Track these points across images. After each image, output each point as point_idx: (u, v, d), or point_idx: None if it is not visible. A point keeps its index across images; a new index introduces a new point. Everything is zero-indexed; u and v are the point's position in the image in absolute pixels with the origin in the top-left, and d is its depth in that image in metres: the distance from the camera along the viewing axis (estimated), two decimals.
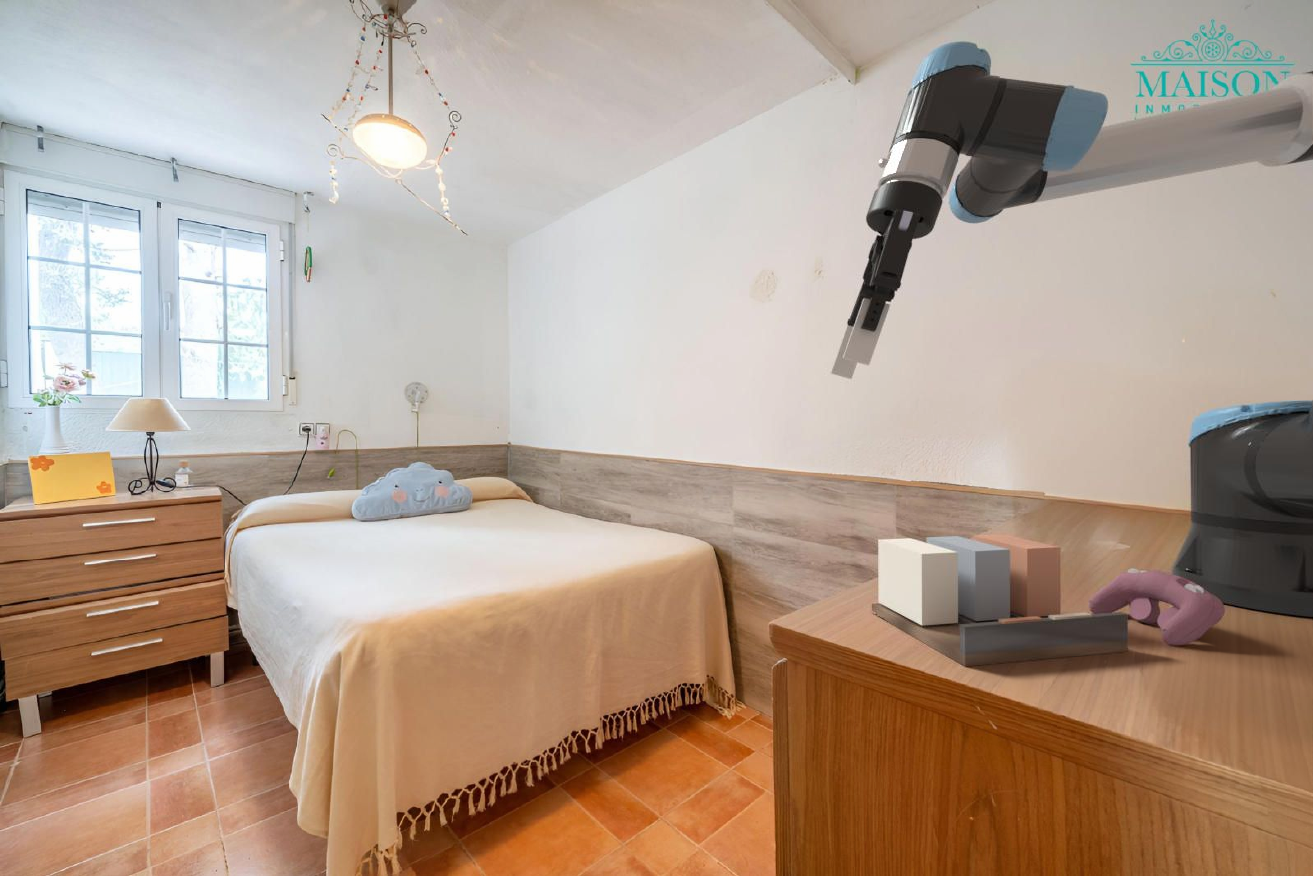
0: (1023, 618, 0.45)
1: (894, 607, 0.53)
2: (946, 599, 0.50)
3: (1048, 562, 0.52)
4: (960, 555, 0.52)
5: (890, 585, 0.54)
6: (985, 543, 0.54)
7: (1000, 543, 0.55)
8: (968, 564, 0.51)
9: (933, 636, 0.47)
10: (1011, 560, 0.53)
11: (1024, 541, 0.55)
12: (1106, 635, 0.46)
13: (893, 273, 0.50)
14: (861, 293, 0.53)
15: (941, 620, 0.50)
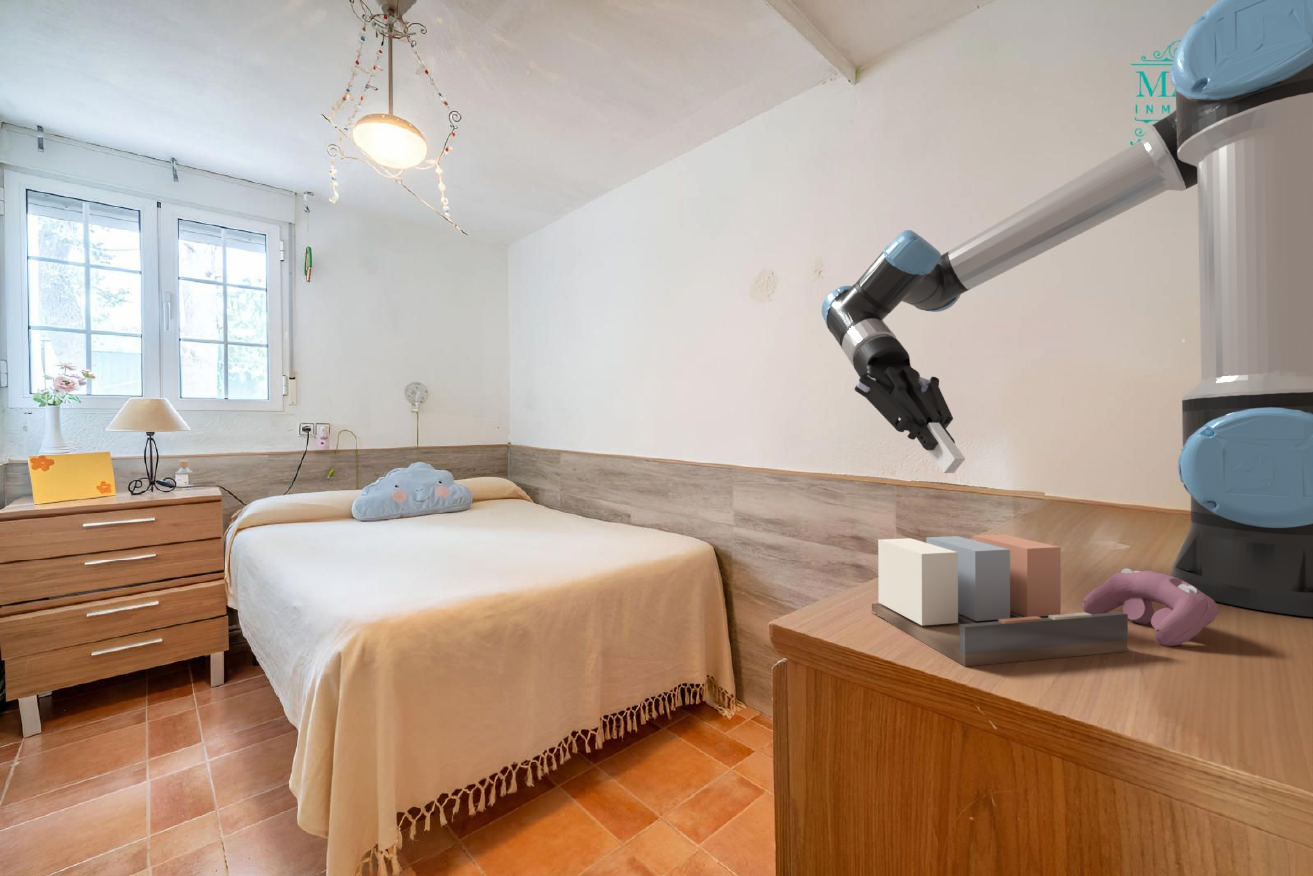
0: (1023, 618, 0.45)
1: (894, 607, 0.53)
2: (946, 599, 0.50)
3: (1048, 562, 0.52)
4: (960, 555, 0.52)
5: (890, 585, 0.54)
6: (985, 543, 0.54)
7: (1000, 543, 0.55)
8: (968, 564, 0.51)
9: (933, 636, 0.47)
10: (1011, 560, 0.53)
11: (1024, 541, 0.55)
12: (1106, 635, 0.46)
13: (898, 417, 0.69)
14: (914, 438, 0.69)
15: (941, 620, 0.50)
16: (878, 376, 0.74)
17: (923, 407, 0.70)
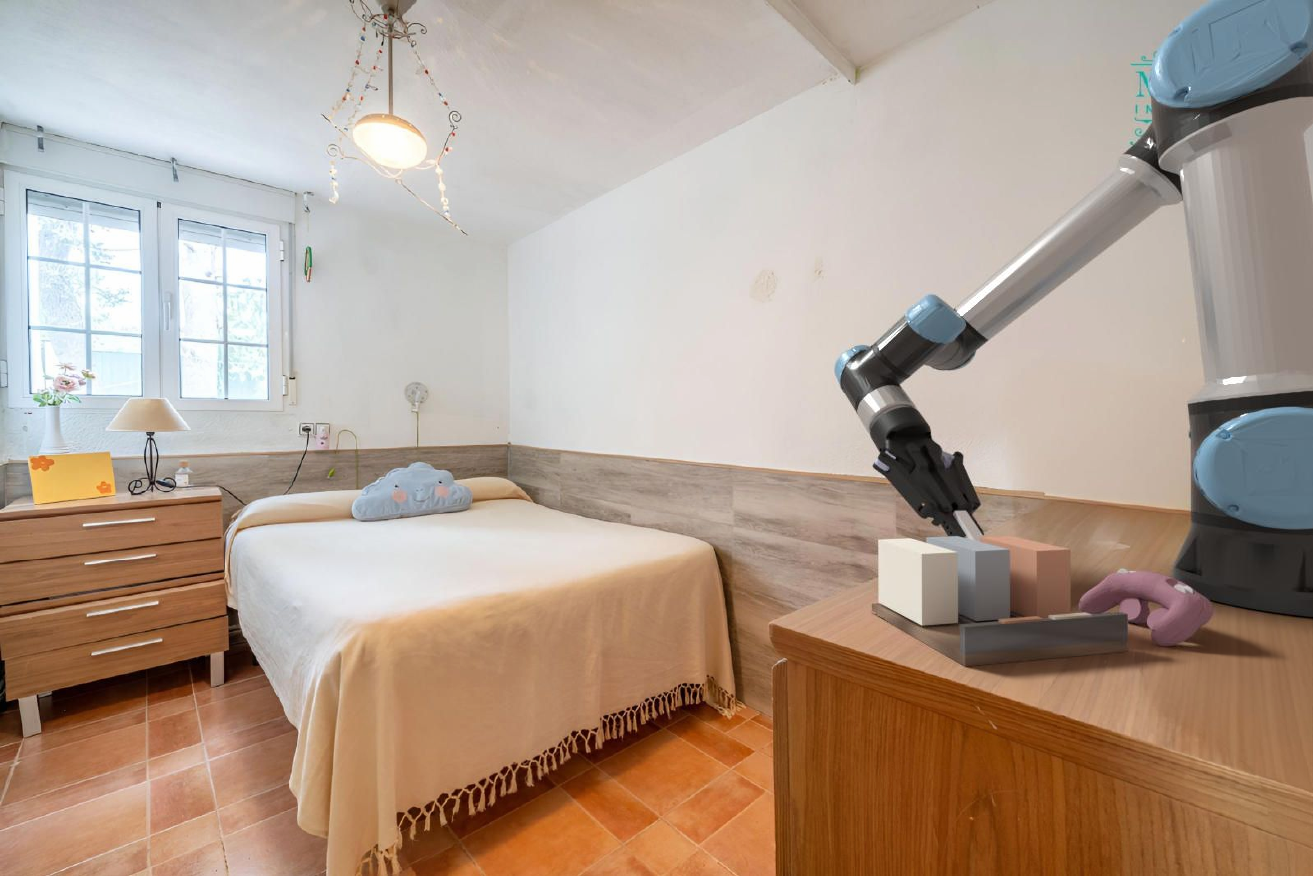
0: (1023, 618, 0.45)
1: (894, 607, 0.53)
2: (946, 599, 0.50)
3: (1058, 565, 0.51)
4: (960, 555, 0.52)
5: (890, 585, 0.54)
6: (985, 543, 0.54)
7: (1008, 545, 0.54)
8: (968, 564, 0.51)
9: (933, 636, 0.47)
10: (1020, 562, 0.52)
11: (1033, 543, 0.54)
12: (1106, 635, 0.46)
13: (921, 503, 0.64)
14: None
15: (941, 620, 0.50)
16: (898, 453, 0.69)
17: (948, 490, 0.65)
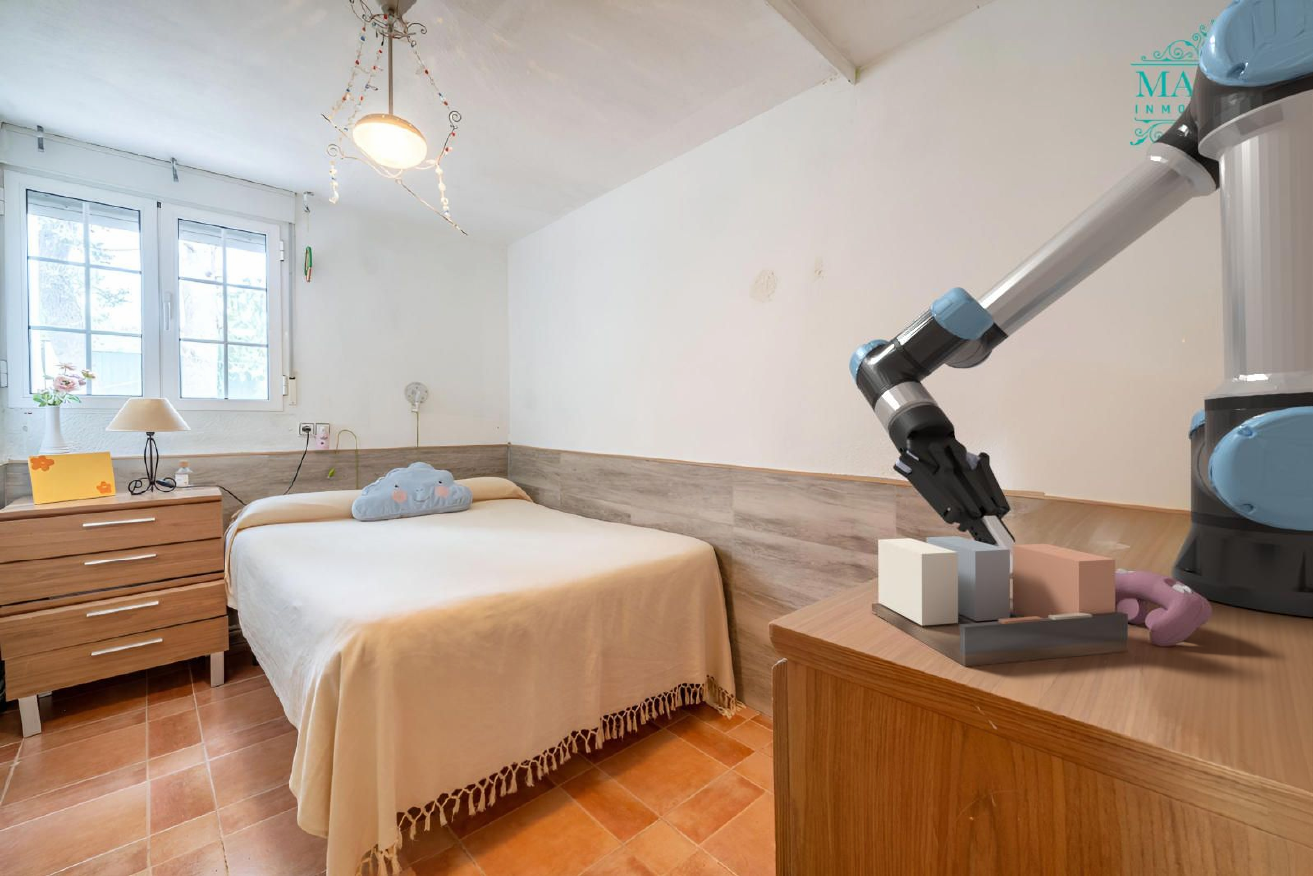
0: (1023, 618, 0.45)
1: (894, 607, 0.53)
2: (946, 599, 0.50)
3: (1102, 576, 0.47)
4: (960, 555, 0.52)
5: (890, 585, 0.54)
6: (985, 543, 0.54)
7: (1046, 554, 0.49)
8: (968, 564, 0.51)
9: (933, 636, 0.47)
10: (1059, 573, 0.48)
11: (1072, 552, 0.50)
12: (1106, 635, 0.46)
13: (947, 508, 0.60)
14: (965, 531, 0.60)
15: (941, 620, 0.50)
16: (920, 453, 0.65)
17: (975, 493, 0.61)
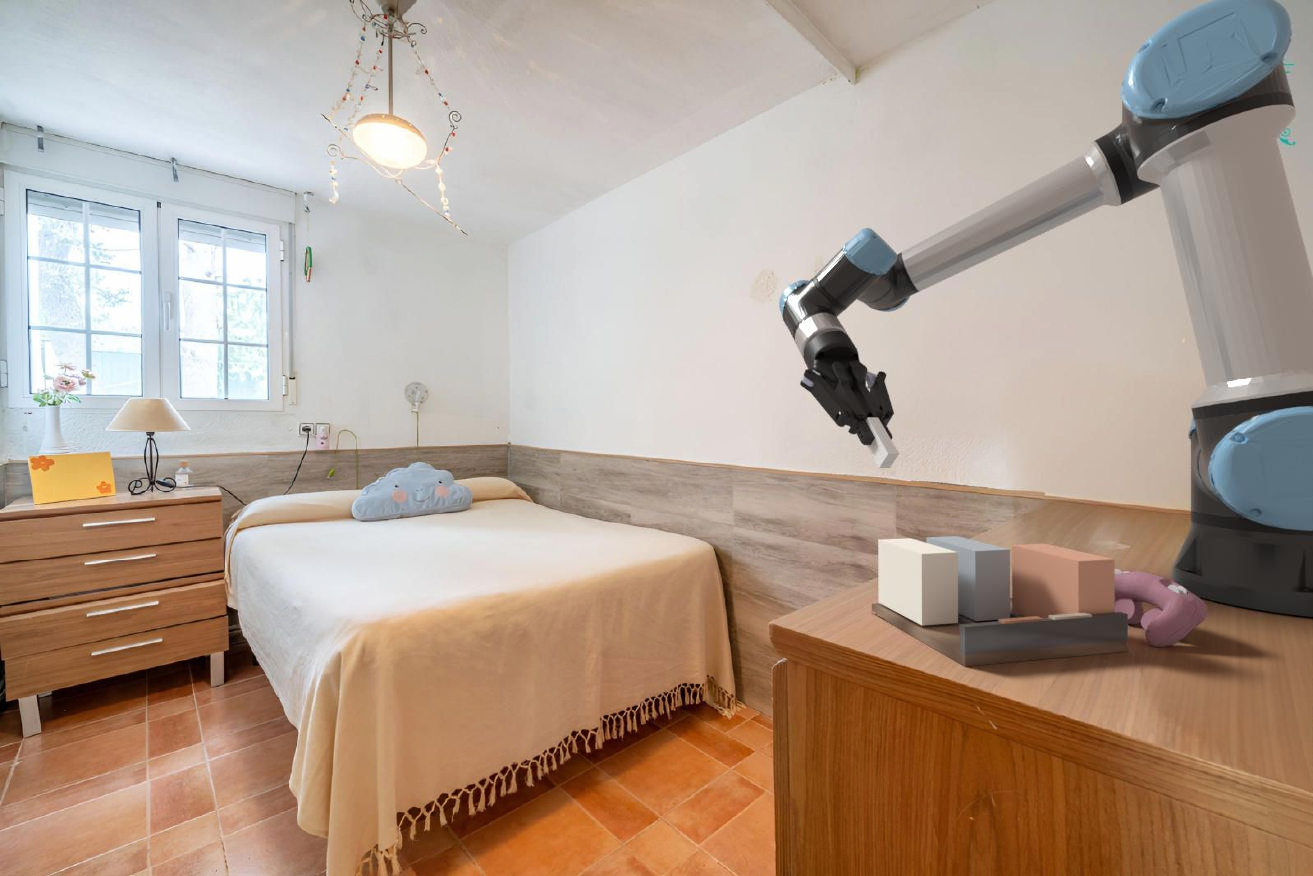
0: (1023, 618, 0.45)
1: (894, 607, 0.53)
2: (946, 599, 0.50)
3: (1101, 576, 0.47)
4: (960, 555, 0.52)
5: (890, 585, 0.54)
6: (985, 543, 0.54)
7: (1045, 554, 0.49)
8: (968, 564, 0.51)
9: (933, 636, 0.47)
10: (1059, 573, 0.48)
11: (1071, 552, 0.50)
12: (1106, 635, 0.46)
13: (838, 412, 0.68)
14: (855, 433, 0.69)
15: (941, 620, 0.50)
16: (823, 371, 0.73)
17: (865, 401, 0.70)
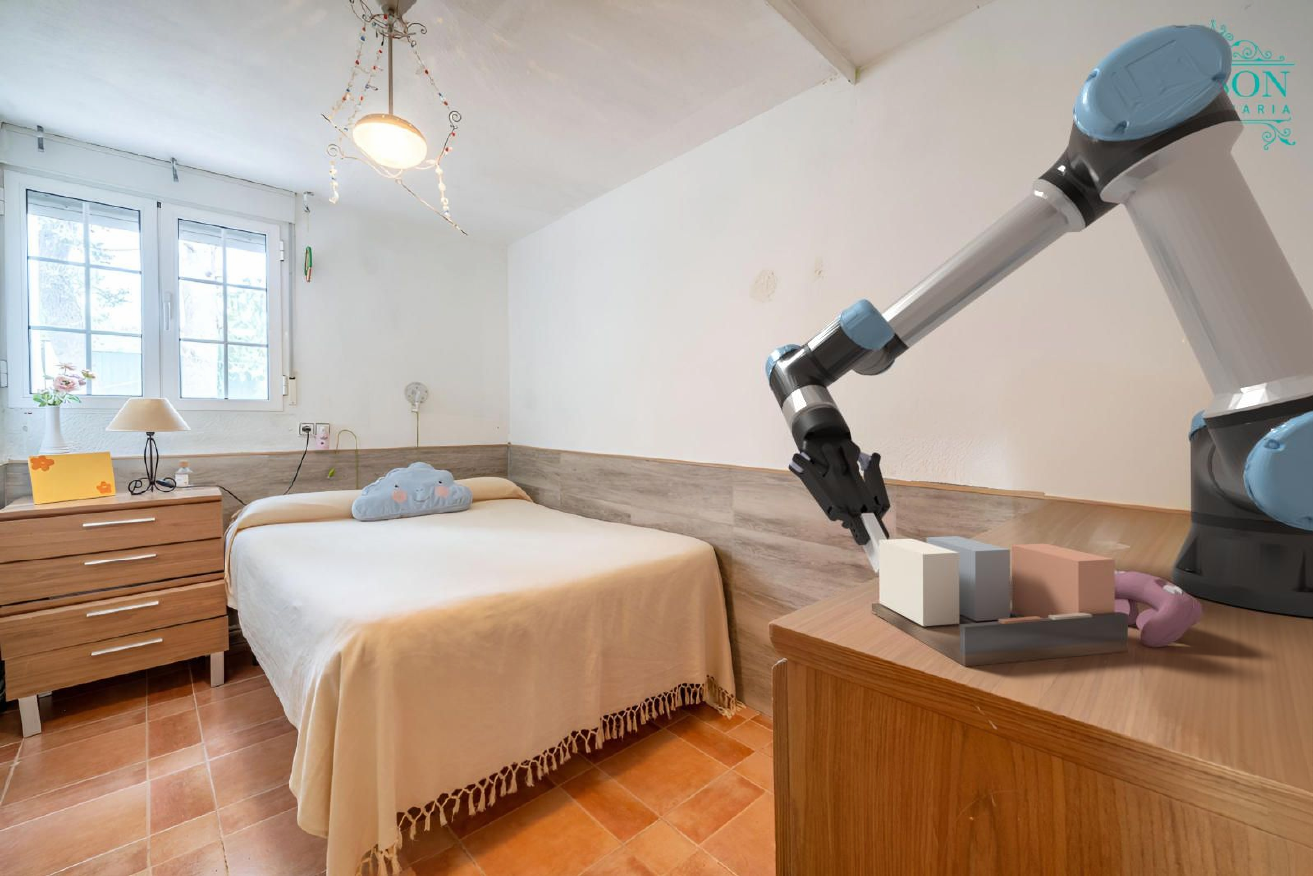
0: (1023, 618, 0.45)
1: (895, 608, 0.53)
2: (947, 600, 0.50)
3: (1101, 576, 0.47)
4: (960, 555, 0.52)
5: (891, 586, 0.54)
6: (985, 543, 0.54)
7: (1045, 554, 0.49)
8: (968, 564, 0.51)
9: (933, 636, 0.47)
10: (1059, 573, 0.48)
11: (1071, 552, 0.50)
12: (1106, 635, 0.46)
13: (830, 506, 0.62)
14: (848, 527, 0.63)
15: (942, 621, 0.50)
16: (813, 454, 0.68)
17: (859, 492, 0.64)
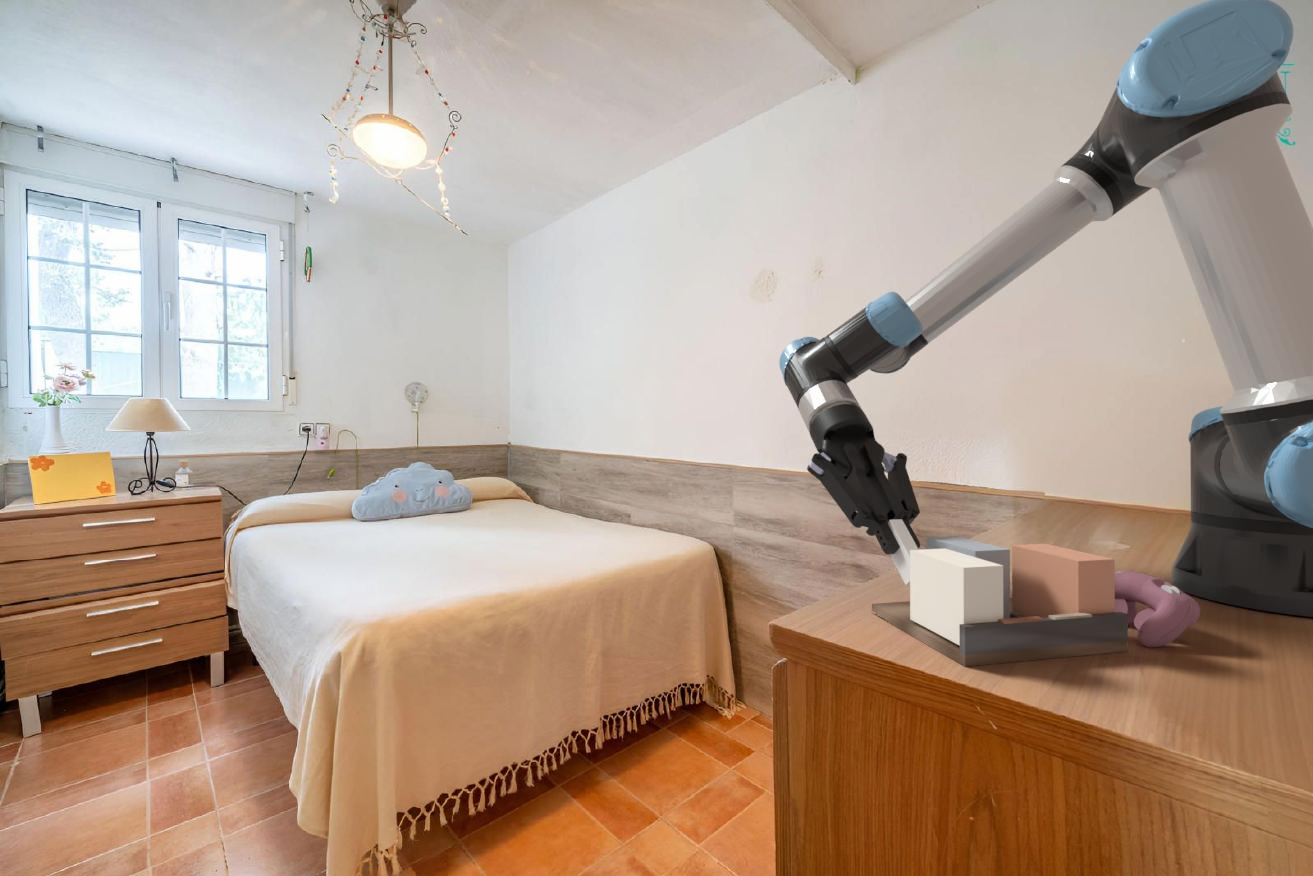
0: (1023, 618, 0.45)
1: (929, 625, 0.48)
2: (990, 618, 0.45)
3: (1101, 576, 0.47)
4: None
5: (925, 601, 0.49)
6: (985, 543, 0.54)
7: (1045, 554, 0.49)
8: None
9: (933, 636, 0.47)
10: (1059, 573, 0.48)
11: (1071, 552, 0.50)
12: (1106, 635, 0.46)
13: (854, 511, 0.57)
14: None
15: None
16: (834, 454, 0.63)
17: (885, 496, 0.59)
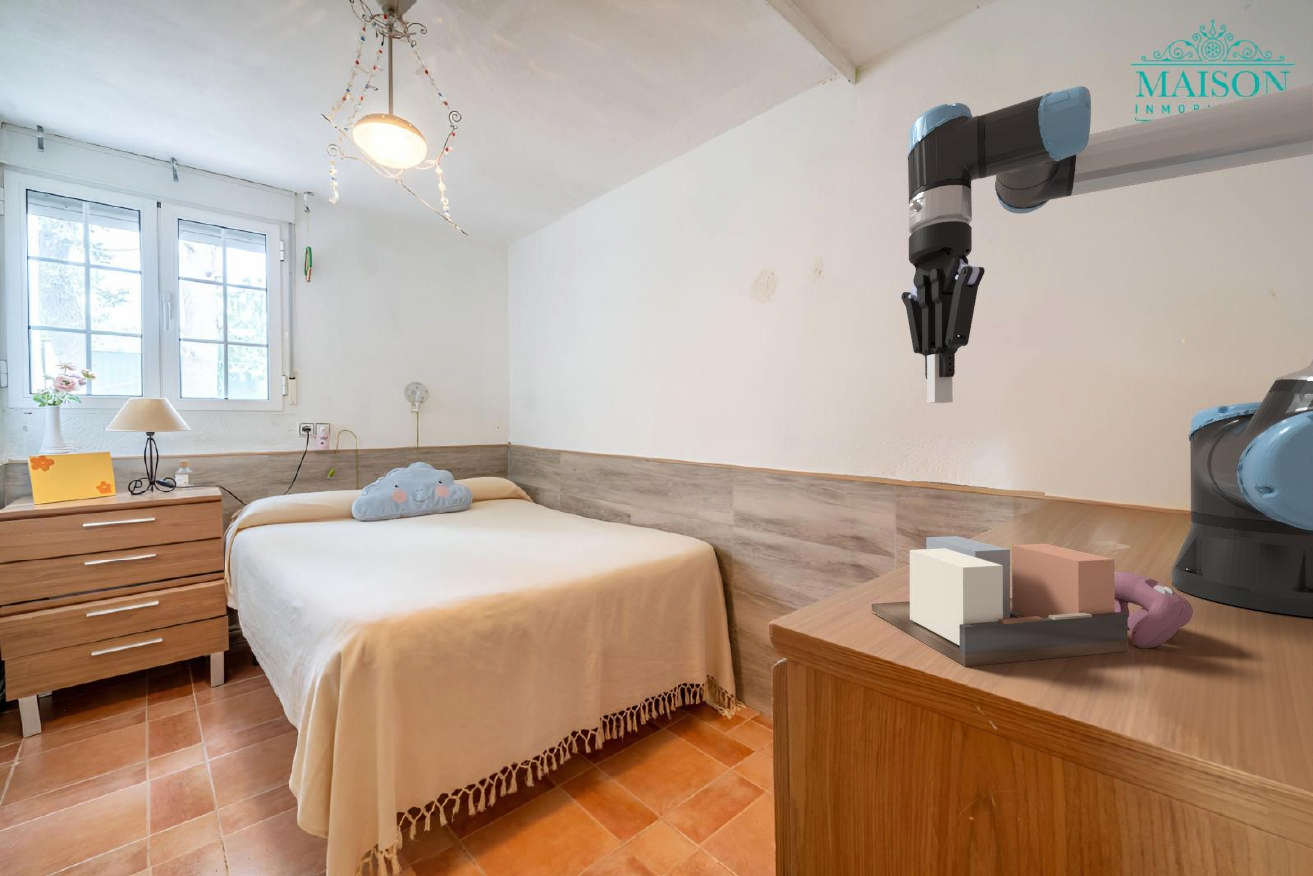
0: (1023, 618, 0.45)
1: (929, 625, 0.48)
2: (990, 618, 0.45)
3: (1101, 576, 0.47)
4: None
5: (924, 601, 0.49)
6: (985, 543, 0.54)
7: (1045, 554, 0.49)
8: None
9: (933, 636, 0.47)
10: (1059, 573, 0.48)
11: (1071, 552, 0.50)
12: (1106, 635, 0.46)
13: (963, 335, 0.65)
14: (933, 352, 0.68)
15: None
16: None
17: None
